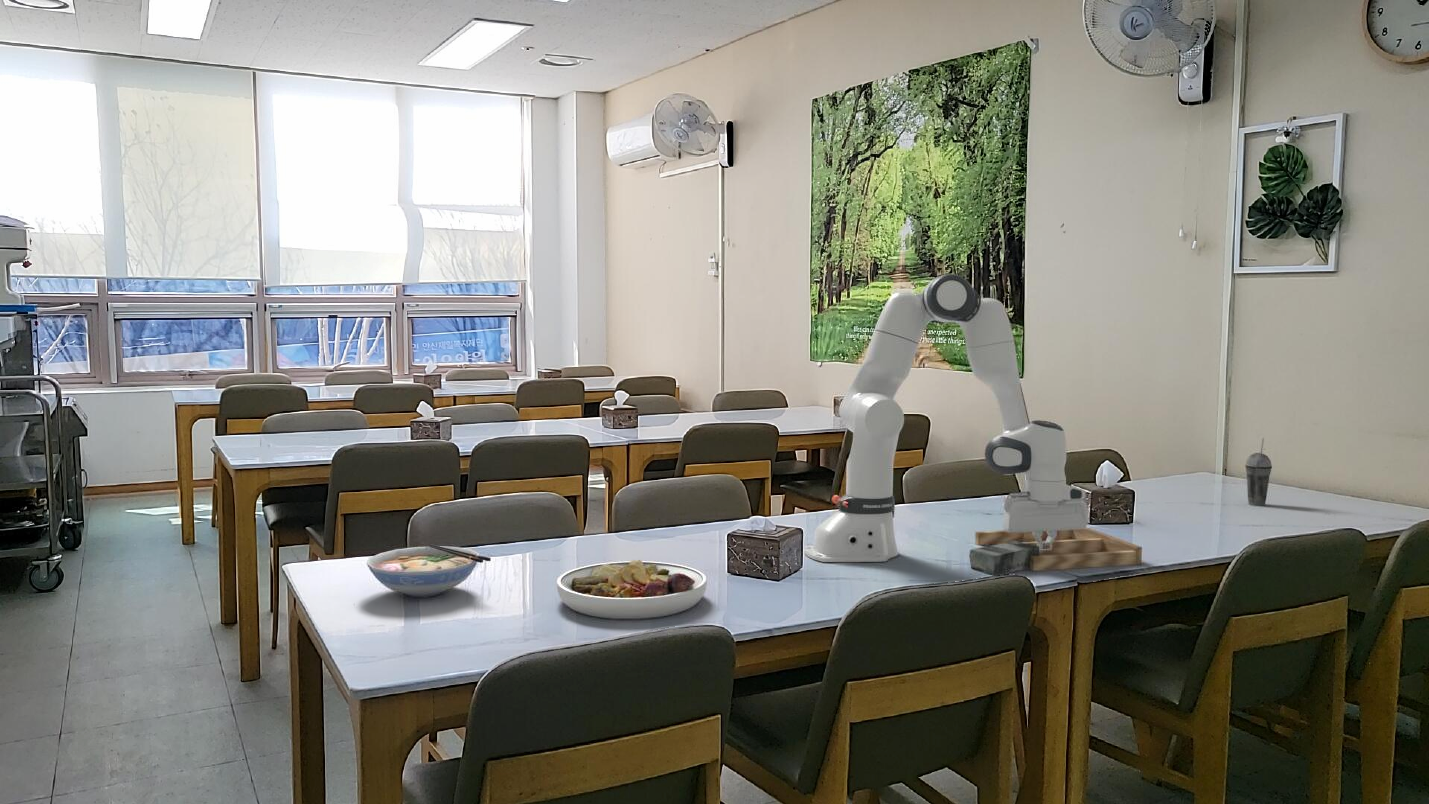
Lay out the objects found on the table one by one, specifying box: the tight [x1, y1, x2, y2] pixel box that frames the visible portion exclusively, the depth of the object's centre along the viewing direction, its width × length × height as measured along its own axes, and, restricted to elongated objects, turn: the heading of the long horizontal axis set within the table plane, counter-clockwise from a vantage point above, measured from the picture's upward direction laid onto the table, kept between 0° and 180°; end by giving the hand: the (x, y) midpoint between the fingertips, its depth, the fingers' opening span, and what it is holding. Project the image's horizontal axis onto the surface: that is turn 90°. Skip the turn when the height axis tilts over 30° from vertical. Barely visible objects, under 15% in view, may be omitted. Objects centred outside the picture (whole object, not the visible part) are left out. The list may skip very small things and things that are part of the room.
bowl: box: [556, 559, 708, 620], centre depth 220 cm, size 30×30×8 cm
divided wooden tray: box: [974, 526, 1143, 572], centre depth 262 cm, size 28×28×4 cm
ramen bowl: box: [366, 542, 492, 598], centre depth 226 cm, size 25×23×8 cm
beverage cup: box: [1244, 438, 1273, 507], centre depth 326 cm, size 7×7×20 cm
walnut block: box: [1024, 531, 1060, 542], centre depth 269 cm, size 6×6×6 cm
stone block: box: [968, 541, 1040, 576], centre depth 248 cm, size 9×14×5 cm, turn 121°
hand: (1044, 549), depth 254 cm, fingers closed
